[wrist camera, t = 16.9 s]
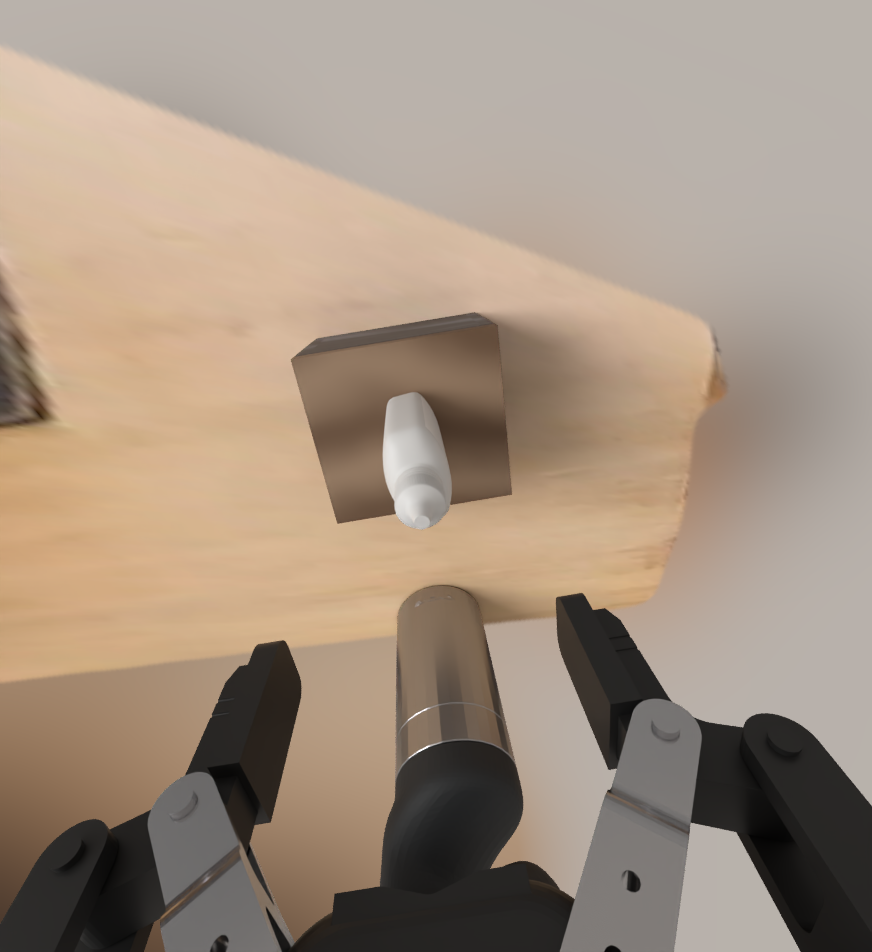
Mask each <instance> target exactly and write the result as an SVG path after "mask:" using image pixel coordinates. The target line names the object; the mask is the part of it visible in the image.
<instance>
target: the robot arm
mask: <svg viewBox="0 0 872 952" xmlns="http://www.w3.org/2000/svg"><path fill="white" fill-rule="evenodd" d="M556 614H557V636H558V643H559V648H560V651H561V655H562V658H563V660H564V662H565V665H566V668H567V670H568V672H569V675H570V677H571V680H572V682H573V685H574V687H575V689H576V692H577V694H578V697H579V699H580V701H581V704H582V706H583V709H584V711H585V714H586V716H587V718H588V721H589V723H590V726H591V728H592V730H593V733H594V735H595V738H596V740H597V743H598V745H599V748H600V750H601V752H602V755H603V757H604V759H605V762H606V765H607V767H608V769H609V770H611V769H617V770H616V774H615V777H614V781H613V784H612V787H611V789H610V790H608V791H607V793H606V795H605V798H604V801H603V804H602V807H601V810H600V814H599V817H598V821H597V824H596V828H595V832H594V835H593V839H592V842H591V846H590V849H589V852H588V857H587V859H586V862H585V866H584V869H583V873H582V876H581V880H580V883H579V887H578V891H577V894H576V897H575V899H574V898H572V897H571V896H569V895H568V894H566V893H565V892H563V891H561V890H560V889H559V887H558V886H557V884H556V883H555V882H554V881H553V879H552V878H551V877H550V876H549V875H548V874H547V873H546V872H545V871H544V870H543V869H541V868H540V867H539V866H538V865H535V864H534V863H531V862H527V861H518V862H514V863H511V864H508V865H505V866H504V867H499V868H493V869H490V868H491V866H492V864H493V862H494V860H495V859H496V857H497V856H498V854H499V853H500V851H501V850H502V848H503V847H504V846H505V844H506V843H507V842H508V840H509V839H510V838H511V836H512V835H513V833H514V832H515V830H516V828H517V826H518V825H519V822H520V820H521V816H522V812H523V796H522V789H521V785H520V780H519V776H518V772H517V768H516V764H515V759H514V756H513V751H512V747H511V742H510V738H509V734H508V730H507V726H506V721H505V717H504V713H503V708H502V704H501V700H500V696H499V691H498V687H497V683H496V679H495V674H494V670H493V665H492V661H491V657H490V653H489V648H488V644H487V640H486V634H485V630H484V626H483V621H482V617H481V613H480V609H479V606H478V604H477V602H476V601H475V600H474V598H473V597H472V596H470V595H469V594H468V593H467V592H465V591H463V590H461V589H459V588H455V587H451V586H432V587H428V588H424V589H422V590H420V591H418V592H416V593H414V594H413V595H411V596H410V597H409V598H408V599H407V600H406V601H405V602H404V603H403V604H402V606H401V608H400V609H399V613H398V616H397V668H396V677H397V678H396V777H395V778H396V779H395V782H396V787H395V801H394V804H393V807H392V809H391V812H390V814H389V817H388V820H387V824H386V828H385V833H384V839H383V850H382V866H381V879H380V887H374V888H369V889H362V890H355V891H350V892H343V893H337V894H335V896H334V905H333V912H332V913H330V914H328V915H327V916H325V917H324V918H322V919H321V920H319V921H318V922H316V923H315V924H314V925H313V926H312V927H310V928H309V929H308V930H307V931H306V932H305V933H304V934H303V935H302V936H301V937H300V938H299V939H298V940H297V941H296V942H295V943H294V941H293V938H292V936H291V934H290V932H289V930H288V928H287V926H286V924H285V922H284V920H283V918H282V916H281V914H280V911H279V909H278V907H277V904H276V902H275V900H274V897H273V895H272V892H271V890H270V888H269V885H268V883H267V881H266V878H265V876H264V873H263V871H262V869H261V866H260V864H259V862H258V859H257V857H256V855H255V852H254V850H253V847H252V845H251V843H250V840H251V836H252V832H253V828H254V825H258V824H263V823H270V822H271V819H272V815H273V811H274V807H275V802H276V798H277V794H278V790H279V786H280V782H281V778H282V774H283V770H284V765H285V761H286V757H287V753H288V749H289V745H290V741H291V737H292V733H293V728H294V724H295V720H296V716H297V712H298V708H299V704H300V699H301V680H300V676H299V674H298V671H297V668H296V666H295V663H294V660H293V658H292V656H291V653H290V650H289V648H288V645H287V643H286V642H285V641H284V640H282V641H276V642H270V643H264V644H258V645H257V646H256V647H255V649H254V651H253V653H252V656H251V658H250V661H249V663H248V665H244V666H239V668H238V669H237V670H236V671H235V672H234V673H233V675H232V676H231V677H230V678H229V679H228V680H227V682H226V683H225V685H224V688H223V690H222V692H221V695H220V697H219V699H218V703H217V704H216V706H215V709H214V711H213V713H212V718H210V720H209V722H208V724H207V727H206V729H205V731H204V734H203V736H202V738H201V741H200V743H199V745H198V747H197V750H196V752H195V754H194V757H193V759H192V761H191V764H190V766H189V768H188V770H187V772H186V775H185V776H183V777H181V778H180V779H178V780H176V781H175V782H174V783H173V784H171V785H170V786H169V787H168V788H167V789H166V790H165V791H164V792H163V793H162V794H161V795H160V796H159V798H158V799H157V801H156V802H155V804H154V805H153V807H152V809H151V810H150V811H148V812H146V813H144V814H142V815H140V816H137V817H135V818H133V819H131V820H129V821H127V822H125V823H123V824H120V825H119V826H116V827H114V828H112V829H109V828H108V827H107V826H106V824H105V823H104V822H102V821H100V820H96V819H92V820H87V821H83V822H81V823H79V824H76V825H75V826H73V827H71V828H69V829H68V830H67V831H65V832H64V833H62V834H61V835H60V836H59V837H57V838H56V839H55V840H54V841H53V842H52V843H51V844H50V845H49V846H48V847H47V848H46V850H45V851H44V852H43V853H42V855H41V856H40V857H39V859H38V860H37V862H36V863H35V865H34V867H33V868H32V870H31V872H30V874H29V875H28V877H27V879H26V881H25V882H24V884H23V886H22V887H21V889H20V891H19V893H18V894H17V896H16V898H15V900H14V901H13V903H12V905H11V906H10V908H9V910H8V912H7V913H6V915H5V917H4V918H3V920H2V922H1V924H0V952H144V950H145V947H146V944H147V941H148V937H149V935H150V932H151V929H152V926H153V923H154V922H155V921H156V920H158V919H160V926H161V933H162V938H163V942H164V947H165V952H674V945H675V939H676V931H677V924H678V916H679V909H680V901H681V894H682V886H683V879H684V871H685V864H686V856H687V849H688V841H689V833H690V822H691V823H695V824H700V825H705V826H710V827H715V828H720V829H724V830H729V831H734V832H737V834H738V836H739V838H740V840H741V841H742V843H743V845H744V847H745V849H746V851H747V853H748V854H749V856H750V858H751V860H752V862H753V864H754V866H755V867H756V869H757V871H758V873H759V875H760V877H761V879H762V880H763V882H764V884H765V886H766V888H767V890H768V892H769V894H770V895H771V897H772V899H773V901H774V903H775V905H776V906H777V908H778V910H779V912H780V914H781V916H782V918H783V920H784V921H785V923H786V925H787V927H788V929H789V931H790V932H791V935H792V936H793V938H794V940H795V942H796V944H797V946H798V948H799V949H800V951H801V952H872V806H871V805H870V803H869V802H868V801H867V800H866V799H865V797H864V796H863V795H862V794H861V793H860V791H859V790H858V789H857V788H856V786H855V785H854V784H853V783H852V781H851V780H850V779H849V778H848V777H847V775H846V774H845V773H844V772H843V770H842V769H841V768H840V767H839V765H838V764H837V763H836V762H835V761H834V759H833V758H832V757H831V756H830V754H829V753H828V752H827V751H826V750H825V748H824V747H823V746H822V745H821V743H820V742H819V741H818V740H817V739H816V738H815V737H814V735H813V734H811V733H810V732H809V731H808V730H807V729H805V728H804V727H803V726H801V725H800V724H798V723H796V722H794V721H792V720H790V719H788V718H785V717H782V716H779V715H775V714H768V713H765V714H756V715H754V716H751V717H750V718H749V719H748V720H747V721H746V722H745V724H744V727H743V728H742V727H736V726H729V725H722V724H715V723H709V722H705V721H702V720H699V719H696V718H694V717H693V716H692V715H691V714H690V713H689V712H688V711H686V710H685V709H684V708H682V707H681V706H679V705H677V704H675V703H673V702H672V701H671V700H670V699H669V697H668V696H667V694H666V693H665V691H664V689H663V688H662V686H661V685H660V683H659V681H658V680H657V678H656V677H655V675H654V673H653V672H652V671H651V669H650V667H649V665H648V664H647V662H646V660H645V659H644V657H643V656H642V654H641V652H640V651H639V650H638V649H637V646H636V644H635V643H634V641H633V640H632V638H630V635H629V633H628V632H627V630H626V628H625V627H624V625H623V624H622V622H621V620H619V619H618V618H617V617H616V616H614V615H613V614H612V613H610V612H609V611H608V610H607V609H605V608H604V609H598V610H592V608H591V606H590V604H589V602H588V601H587V599H586V597H585V596H584V594H583V593H579V594H573V595H567V596H561V597H557V598H556Z"/></svg>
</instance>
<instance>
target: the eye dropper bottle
mask: <svg viewBox="0 0 872 952" xmlns="http://www.w3.org/2000/svg"><path fill="white" fill-rule="evenodd" d="M383 469H384V475H385V480H386V483H387V487H388V489H389V492H390V494H391V496H392V498H393V500H394V501H395V502H394V507H395V512H396V514H397V516H398V518H399V520H401V522H403V524H405V525H407V526H409V527H412V528H417V529H426V528H428V527H431V526H433V525H435V524H436V523H437V522H439V520H441V518H443V516H444V515H446V513H447V512H448V510H449V506H450V502H451V495H452V482H451V474H450V469H449V465H448V461H447V457H446V453H445V449H444V445H443V441H442V437H441V433H440V429H439V425H438V422H437V419H436V417H435V415H434V413H433V411H432V409H431V407H430V406H429V404H428V403H427V401H426V400H425V399H424V398H423V396H422V395H421V394H419V393H417V392H411V393H407V394H403V395H400V396H396V397H393V398H391V399H390V400H389V401H388V403H387V408H386V418H385V428H384V439H383Z"/></svg>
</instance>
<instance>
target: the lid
mask: <svg viewBox="0 0 872 952" xmlns="http://www.w3.org/2000/svg"><path fill="white" fill-rule="evenodd" d="M291 362H292V366H293V369H294V373H295V376H296V380H297V383H298V387H299V390H300V394H301V397H302V401H303V404H304V408H305V411H306V415H307V418H308V422H309V425H310V429H311V432H312V436H313V439H314V443H315V446H316V450H317V453H318V457H319V460H320V464H321V467H322V471H323V475H324V478H325V482H326V485H327V489H328V492H329V496H330V499H331V503H332V506H333V510H334V513H335V517H336V520H337V524H338V523H344V522H350V521H356V520H362V519H368V518H374V517H380V516H386V515H392V514H396V512H395V507H394V502H395V501H394V500H393V498H392V496H391V494H390V492H389V489H388V487H387V483H386V480H385V475H384V469H383V439H384V428H385V418H386V408H387V403H388V401H389V400H390V399H391V398H393V397H396V396H400V395H403V394H407V393H411V392H417V393H419V394H421V395H422V396H423V398H424V399H425V400H426V401H427V403H428V404H429V406H430V407H431V409H432V411H433V413H434V415H435V417H436V419H437V422H438V425H439V429H440V433H441V437H442V441H443V445H444V449H445V453H446V457H447V461H448V465H449V469H450V474H451V482H452V495H451V502H450V505H452V504H458V503H464V502H470V501H476V500H482V499H488V498H494V497H500V496H506V495H512V489H511V478H510V466H509V455H508V443H507V431H506V420H505V408H504V396H503V385H502V373H501V362H500V350H499V338H498V327H497V325H496V324H489V325H483V326H477V327H471V328H465V329H458V330H452V331H446V332H440V333H434V334H428V335H422V336H416V337H410V338H404V339H398V340H392V341H386V342H380V343H374V344H368V345H362V346H356V347H350V348H344V349H338V350H332V351H326V352H320V353H314V354H308V355H302V356H296V357H293V358H292V359H291Z"/></svg>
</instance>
